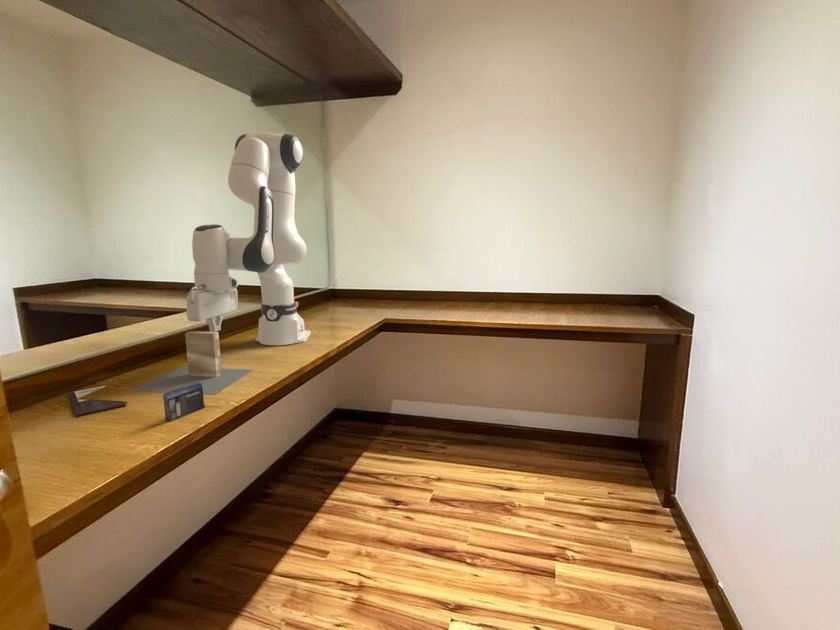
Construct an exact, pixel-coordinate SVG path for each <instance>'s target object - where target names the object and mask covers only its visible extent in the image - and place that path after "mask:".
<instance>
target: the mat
mask: <svg viewBox="0 0 840 630" xmlns="http://www.w3.org/2000/svg"><path fill="white" fill-rule="evenodd" d="M221 371H222V374H221V375H219V376H217V377H207V376H189V369H188V366H180V367H178V368H177V369H175V370H172V371H170V372H168V373H166V374H164V375H162V376H159V377H157V378H156V379H153V380H151V381H149V382H147V383H145V384H143V385H141V386H139V387H136V388H135V389H132V390H130V392H133V393H134V392H135V393H138V392H139V393H153V394H155V393H157V394H164V393H167V392H170V391H173V390H176V389H179V388H182V387H185V386H188V385H191V384H194V383H197V382H198V383H201V384H202V388H203V396H204V395H205V396H206V395H207V396H216V395H218V394H219V393H221V392H222V391H224V390H225V389H228V387H230V386H232V385H233V384H234V383H236V382H237V381H239V380H241V379H242V378H244V377H245V376H247V375H248V374H250V373H251V372H253V371H254V369H251V368H250V369H246V368H222V367H221Z"/></svg>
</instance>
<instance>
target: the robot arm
mask: <svg viewBox="0 0 840 630" xmlns="http://www.w3.org/2000/svg"><path fill="white" fill-rule="evenodd" d="M303 159H304V149H303V145H302V142H301V141H300V139H299V138H298V137H297V136H295V135H292V134H288V133H283V134H282V133H278V132H263V133H261V132H260V133H245V134H242V135H240V136H238V138H237V139H236V141H235V143H234V153H233V156H232V159H231V163H230V167H229V171H228V176H227V184H228V187H229V189H230V191H231V192H232V194H234V196H235V197H236V198H237V199H239V200H240V201H243V202H244V203H246V204H249V205H251V206H252V207H253V209H254V214H253V215H254V216H253V217H254V221H253V233H252V235H250V237H235V236H234V235H231V234H230V233H228V232H227V231H226V230H225V229H224V226H223V225H221V224H203V225H199V226H196V227H195V228H194V230H193V234H192V241H191V247H192V258H193V262H194V269H193V279H194V286H192V287H191V289H190V290H189V291H188V294H187V298H186V318H187V320H188V321H190V322H201V321H205V322H206V323H207V325H208V329H209V331H208V332H219V331H221V329H222V328H221V327H222V326H221V325H222V321H223V318H224V317H223V316H224V315H225V314H229V313H232V312H235V311H237V309H238V304H239V298H238V297H239V296H238V295H239V294H238V289H237V288H238V286H239V282H238V280H237V279H235V278H234V277H232V276H230V273H229V272H230V271H229V270H231V271H244V272H247V271H248V272H252V273H257V276H258V279H259V281H260V292H261V304H260V306H261V307H260V311H261V312H260V313H261V315H262V316H260V317H259V318H258V336H256V337H255V341H256V342H259V343H260V344H261V345H264V346H285V345H294V344H299V343H305V342H306V341H307V340H308V339H309V337H310V336H311V334H312V332H311V331H310V330H307V329H305V328H306V327H305V320H304V319H303V318H302V317H301V315H299V313H298V309H297V308H299V302H298V301H295V295H294V294H295V293H294V289H295V288H294V281H293V279H291V277H290V276H289V275H288V274H287V272H286V269H285V267H286V266H287V267H289V266H295V265H299V264H300V263H302V262H303V261H304V260H305V258H306V257H307V252H308V251H307V250H308V248H307V245H306V242H305V241H304V239H303V238H302V237H301V235H300V234H299V232H298V229H297V224H296V218H295V212H296V210H295V208H296V207H295V206H296V176H295V172H296V170H297V169H298V168H299V167H300V165H301V163H302V161H303ZM284 266H285V267H284Z"/></svg>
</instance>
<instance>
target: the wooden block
mask: <svg viewBox="0 0 840 630" xmlns="http://www.w3.org/2000/svg"><path fill="white" fill-rule="evenodd" d="M184 337H185V346H186V347H185V348H186V357H187V367H188V369H189V376H207V377H217V376H219V375H221V374H222V371H221V368H222V360H221V347H220V335H219V331H216V332H210V331H200V330H199V331H197V330H196V331H195V330H193V331H192V330H191V331H186V332H185V333H184Z"/></svg>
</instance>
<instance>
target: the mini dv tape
mask: <svg viewBox="0 0 840 630" xmlns="http://www.w3.org/2000/svg"><path fill="white" fill-rule="evenodd" d="M162 399H163V407H164V409H163V410H164V417H165V418H164V419H165V421H167V422H170V423H171V422H173V421H177V420H178V419H180V418H183V417H186V416H189V415H190V414H193V413H195V412H198V411H201V410H203V409H205V401H204V400H205V399H204V395H203V388H202V384H201V383H198V382H197V383H194V384H191V385H188V386H185V387H182V388H179V389H176V390H173V391H170V392H167V393H162Z"/></svg>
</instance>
